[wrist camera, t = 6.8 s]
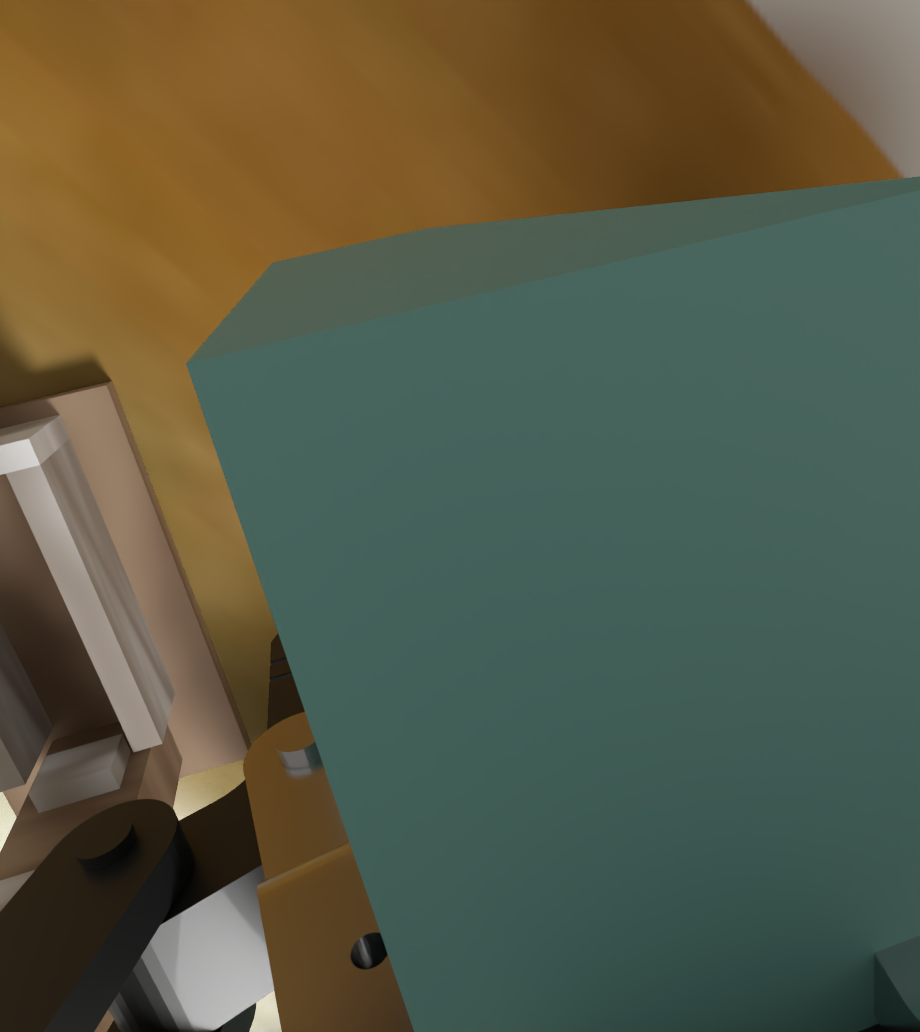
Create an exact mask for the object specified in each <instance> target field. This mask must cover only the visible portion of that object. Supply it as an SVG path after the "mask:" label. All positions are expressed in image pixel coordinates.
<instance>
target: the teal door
mask: <svg viewBox="0 0 920 1032" xmlns="http://www.w3.org/2000/svg"><path fill="white" fill-rule="evenodd" d="M186 364H187V367H188V370H189V373H190V376H191V379H192V382H193V385H194V388H195V391H196V394H197V396H198V399H199V402H200V405H201V408H202V411H203V414H204V417H205V420H206V423H207V426H208V429H209V432H210V435H211V437H212V440H213V443H214V446H215V449H216V452H217V455H218V458H219V461H220V464H221V467H222V470H223V473H224V476H225V479H226V481H227V484H228V487H229V490H230V493H231V496H232V499H233V502H234V505H235V508H236V511H237V514H238V517H239V520H240V522H241V525H242V528H243V531H244V534H245V537H246V540H247V543H248V546H249V549H250V552H251V555H252V558H253V561H254V564H255V566H256V569H257V572H258V575H259V578H260V581H261V584H262V587H263V590H264V593H265V596H266V599H267V602H268V605H269V608H270V610H271V613H272V616H273V619H274V622H275V625H276V628H277V631H278V634H279V637H280V640H281V643H282V646H283V649H284V651H285V654H286V657H287V660H288V663H289V666H290V669H291V672H292V675H293V678H294V681H295V684H296V687H297V690H298V693H299V695H300V698H301V701H302V704H303V707H304V710H305V713H306V716H307V719H308V722H309V725H310V728H311V731H312V734H313V736H314V739H315V742H316V745H317V748H318V751H319V754H320V757H321V760H322V763H323V766H324V769H325V772H326V775H327V778H328V780H329V783H330V786H331V789H332V792H333V795H334V798H335V801H336V804H337V807H338V810H339V813H340V816H341V819H342V822H343V824H344V827H345V830H346V833H347V836H348V839H349V842H350V845H351V848H352V851H353V854H354V857H355V860H356V863H357V865H358V868H359V871H360V874H361V877H362V880H363V883H364V886H365V889H366V892H367V895H368V898H369V901H370V904H371V907H372V909H373V912H374V915H375V918H376V921H377V924H378V927H379V930H380V933H381V936H382V939H383V942H384V945H385V948H386V951H387V953H388V956H389V959H390V962H391V965H392V968H393V971H394V974H395V977H396V980H397V983H398V986H399V989H400V992H401V994H402V997H403V1000H404V1003H405V1006H406V1009H407V1012H408V1015H409V1018H410V1021H411V1024H412V1027H413V1030H414V1032H858V1031H861V1030H864V1029H866V1028H869V1027H871V1026H874V1025H877V1024H879V1023H878V1021H877V1019H876V1017H875V1015H874V953H875V952H877V951H880V950H883V949H885V948H888V947H891V946H893V945H896V944H899V943H901V942H904V941H907V940H909V939H912V938H915V937H918V936H920V177H912V178H902V179H893V180H883V181H874V182H864V183H855V184H845V185H836V186H826V187H817V188H807V189H798V190H788V191H779V192H769V193H760V194H750V195H741V196H731V197H722V198H712V199H703V200H693V201H684V202H674V203H665V204H655V205H646V206H636V207H627V208H617V209H608V210H598V211H589V212H579V213H570V214H560V215H551V216H541V217H532V218H522V219H513V220H503V221H494V222H484V223H475V224H465V225H456V226H446V227H437V228H427V229H422V230H417V231H413V232H408V233H404V234H399V235H395V236H390V237H386V238H381V239H377V240H372V241H368V242H363V243H359V244H354V245H350V246H345V247H341V248H336V249H332V250H327V251H323V252H318V253H314V254H309V255H305V256H300V257H296V258H291V259H287V260H282V261H278V262H273V263H272V264H271V265H270V266H269V267H268V269H267V270H266V271H265V272H264V273H263V274H262V276H261V277H260V278H259V279H258V280H257V281H256V283H255V284H254V285H253V286H252V287H251V288H250V290H249V291H248V292H247V293H246V294H245V295H244V297H243V298H242V299H241V300H240V301H239V302H238V304H237V305H236V306H235V307H234V308H233V309H232V311H231V312H230V313H229V314H228V315H227V316H226V318H225V319H224V320H223V321H222V322H221V323H220V325H219V326H218V327H217V328H216V329H215V330H214V332H213V333H212V334H211V335H210V336H209V337H208V339H207V340H206V341H205V342H204V343H203V344H202V346H201V347H200V348H199V349H198V350H197V351H196V353H195V354H194V355H193V356H192V357H191V358H190V360H189V361H188V362H187V363H186Z"/></svg>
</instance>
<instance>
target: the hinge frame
mask: <svg viewBox="0 0 920 1032" xmlns="http://www.w3.org/2000/svg"><path fill="white" fill-rule="evenodd" d="M250 747H251V743H250V740H249V738H248V735H247V733H246V730H245V727H244V725H243V722H242V720H241V717H240V714H239V712H238V709H237V707H236V704H235V701H234V699H233V696H232V693H231V691H230V688H229V686H228V683H227V680H226V678H225V675H224V673H223V670H222V667H221V665H220V662H219V660H218V657H217V654H216V652H215V649H214V646H213V644H212V641H211V639H210V636H209V633H208V631H207V628H206V626H205V623H204V620H203V618H202V615H201V613H200V610H199V607H198V605H197V602H196V599H195V597H194V594H193V592H192V589H191V586H190V584H189V581H188V579H187V576H186V573H185V571H184V568H183V566H182V563H181V560H180V558H179V555H178V553H177V550H176V547H175V545H174V542H173V539H172V537H171V534H170V532H169V529H168V526H167V524H166V521H165V519H164V516H163V513H162V511H161V508H160V506H159V503H158V500H157V498H156V495H155V492H154V490H153V487H152V485H151V482H150V479H149V477H148V474H147V472H146V469H145V466H144V464H143V461H142V459H141V456H140V453H139V451H138V448H137V446H136V443H135V440H134V438H133V435H132V432H131V430H130V427H129V425H128V422H127V419H126V417H125V414H124V412H123V409H122V406H121V404H120V401H119V399H118V396H117V393H116V391H115V388H114V385H113V383H112V381H109V382H105V383H101V384H97V385H92V386H88V387H84V388H80V389H76V390H71V391H67V392H63V393H59V394H54V395H50V396H46V397H42V398H37V399H33V400H29V401H25V402H21V403H16V404H12V405H8V406H4V407H0V792H2V791H3V793H4V795H5V797H6V798H7V800H8V802H9V804H10V806H11V807H12V809H13V811H14V813H15V815H16V816H17V818H16V820H15V822H14V825H13V827H12V829H11V831H10V833H9V835H8V837H7V840H6V842H5V844H4V846H3V848H2V850H1V852H0V911H1V910H2V909H3V908H4V907H5V905H6V904H7V903H8V902H9V901H10V899H11V898H12V897H13V896H14V895H15V894H16V892H17V891H18V890H19V889H20V888H21V886H22V885H23V884H24V883H25V882H26V881H27V879H28V878H29V877H30V876H31V875H32V873H33V872H34V871H35V870H36V869H37V867H38V866H39V865H40V864H41V863H42V862H43V860H44V859H45V858H46V857H47V856H48V854H49V853H50V852H51V851H52V850H53V849H54V847H55V846H56V845H57V844H58V843H59V842H60V841H61V840H62V839H63V838H64V837H65V836H66V835H67V834H69V833H70V832H71V831H72V830H73V829H75V828H76V827H77V826H79V825H80V824H81V823H83V822H84V821H86V820H87V819H89V818H91V817H92V816H94V815H96V814H98V813H100V812H102V811H103V810H106V809H108V808H110V807H113V806H115V805H118V804H121V803H124V802H128V801H133V800H138V799H156V800H160V801H163V802H165V803H167V804H169V805H170V806H171V807H172V808H173V805H174V800H175V795H176V790H177V785H178V780H179V778H182V777H185V776H188V775H192V774H195V773H198V772H201V771H205V770H208V769H211V768H215V767H218V766H221V765H224V764H228V763H231V762H234V761H238V760H241V759H244V758H245V756H246V754H247V752H248V750H249V749H250ZM113 1020H114V1019H113V1017H112V1015H111V1013H110V1012H109V1010H108V1011H107V1012H106V1014H105V1015H104V1017H103V1019H102V1020H101V1022H100V1024H99V1025H98V1027H97V1028H96V1030H95V1032H107V1030H108V1029H109V1027H110V1025H111V1024H112V1022H113Z"/></svg>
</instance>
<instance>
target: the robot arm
mask: <svg viewBox="0 0 920 1032" xmlns="http://www.w3.org/2000/svg"><path fill="white" fill-rule="evenodd" d="M270 662H271V666H270V681H271V682H269V704H268V727H267V731H265V732H264V733H263V734H262V735H261V736H260V737H259V738H258V739H257V740H256V741H255V742H254V743H253V744H252V746H251V747H250V749H249V750H248V752H247V754H246V756H245V759H244V764H243V769H244V776H245V780H244V781H243V782H242V783H241V784H240V785H239V786H237V787H236V788H235V789H234V790H232V791H231V792H229V793H228V794H227V795H225V796H223V797H222V798H220V799H218V800H217V801H215V802H213V803H211V804H209V805H208V806H206V807H204V808H202V809H200V810H198V811H197V812H195V813H193V814H191V815H189V816H187V817H185V818H184V819H182V820H180V821H179V820H178V818H177V816H176V814H175V812H174V810H173V808H172V807H171V806H170V805H169V804H167V803H165V802H163V801H160V800H156V799H138V800H133V801H128V802H124V803H121V804H118V805H115V806H113V807H110V808H108V809H106V810H103V811H102V812H100V813H98V814H96V815H94V816H92V817H91V818H89V819H87V820H86V821H84V822H83V823H81V824H80V825H79V826H77V827H76V828H75V829H73V830H72V831H71V832H70V833H69V834H67V835H66V836H65V837H64V838H63V839H62V840H61V841H60V842H59V843H58V844H57V845H56V846H55V847H54V849H53V850H52V851H51V852H50V853H49V854H48V856H47V857H46V858H45V859H44V860H43V862H42V863H41V864H40V865H39V866H38V867H37V869H36V870H35V871H34V872H33V873H32V875H31V876H30V877H29V878H28V879H27V881H26V882H25V883H24V884H23V885H22V886H21V888H20V889H19V890H18V891H17V892H16V894H15V895H14V896H13V897H12V898H11V899H10V901H9V902H8V903H7V904H6V905H5V907H4V908H3V909H2V910H1V911H0V1032H95V1030H96V1028H97V1027H98V1025H99V1024H100V1022H101V1020H102V1019H103V1017H104V1015H105V1014H106V1012H107V1011H108V1010H109V1012H110V1013H111V1015H112V1017H113V1019H114V1020H113V1022H112V1024H111V1025H110V1027H109V1029H108V1030H107V1032H249V1030H250V1028H251V1025H252V1022H253V1019H254V1015H255V1010H256V1002H257V1001H259V1000H260V999H262V998H263V997H265V996H266V995H268V994H269V993H270V992H272V991H273V990H274V991H275V996H276V1002H277V1007H278V1013H279V1018H280V1024H281V1029H282V1032H414V1030H413V1027H412V1024H411V1021H410V1018H409V1015H408V1012H407V1009H406V1006H405V1003H404V1000H403V997H402V994H401V992H400V989H399V986H398V983H397V980H396V977H395V974H394V971H393V968H392V965H391V962H390V959H389V956H388V953H387V951H386V948H385V945H384V942H383V939H382V936H381V933H380V930H379V927H378V924H377V921H376V918H375V915H374V912H373V909H372V907H371V904H370V901H369V898H368V895H367V892H366V889H365V886H364V883H363V880H362V877H361V874H360V871H359V868H358V865H357V863H356V860H355V857H354V854H353V851H352V848H351V845H350V842H349V839H348V836H347V833H346V830H345V827H344V824H343V822H342V819H341V816H340V813H339V810H338V807H337V804H336V801H335V798H334V795H333V792H332V789H331V786H330V783H329V780H328V778H327V775H326V772H325V769H324V766H323V763H322V760H321V757H320V754H319V751H318V748H317V745H316V742H315V739H314V736H313V734H312V731H311V728H310V725H309V722H308V719H307V716H306V713H305V710H304V707H303V704H302V701H301V698H300V695H299V693H298V690H297V687H296V684H295V681H294V678H293V675H292V672H291V669H290V666H289V663H288V660H287V657H286V654H285V651H284V649H283V646H282V643H281V640H280V637H279V634H277V635H276V637H275V638H274V639H273V641H272V642H271V659H270ZM874 1015H875V1017H876V1019H877V1021H878V1023H879V1024H877V1025H874V1026H871V1027H869V1028H866V1029H864V1030H861V1031H858V1032H920V936H918V937H915V938H912V939H909V940H907V941H904V942H901V943H899V944H896V945H893V946H891V947H888V948H885V949H883V950H880V951H877V952H875V953H874Z"/></svg>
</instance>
